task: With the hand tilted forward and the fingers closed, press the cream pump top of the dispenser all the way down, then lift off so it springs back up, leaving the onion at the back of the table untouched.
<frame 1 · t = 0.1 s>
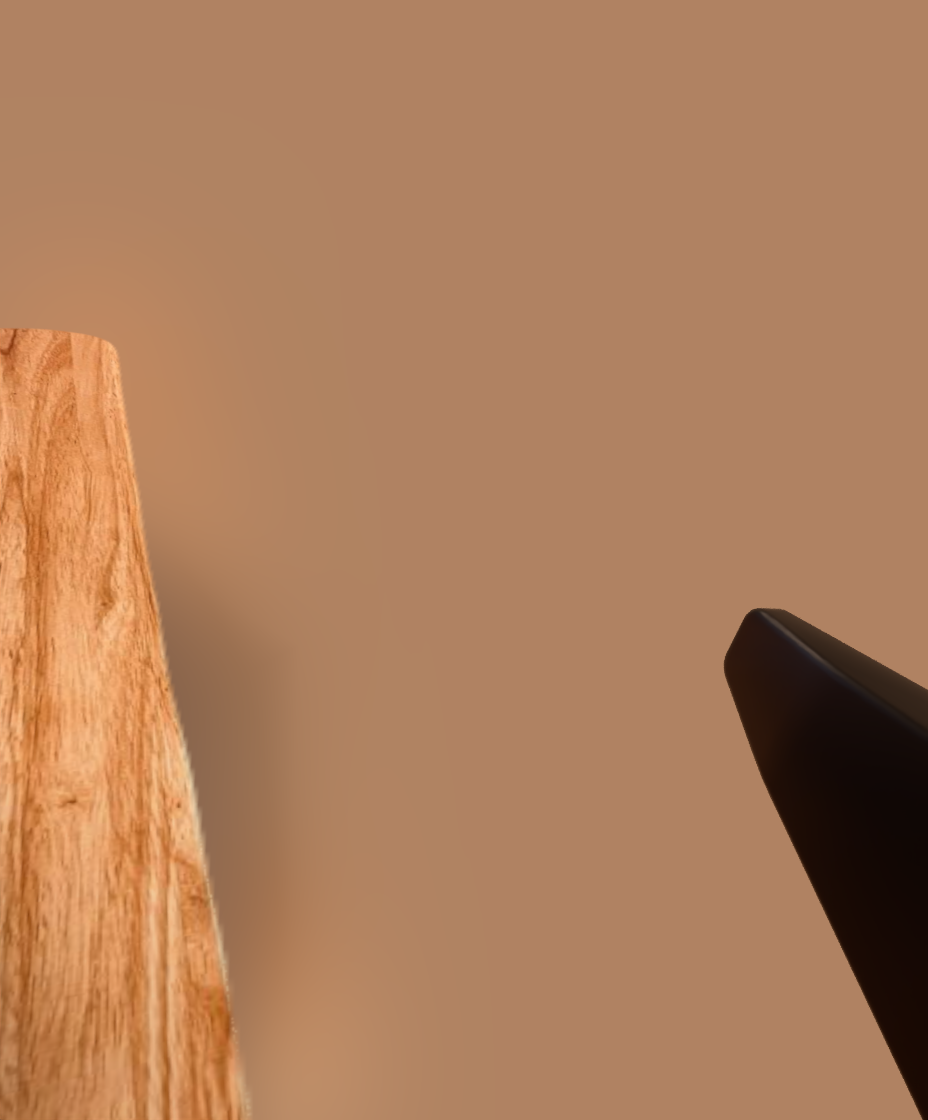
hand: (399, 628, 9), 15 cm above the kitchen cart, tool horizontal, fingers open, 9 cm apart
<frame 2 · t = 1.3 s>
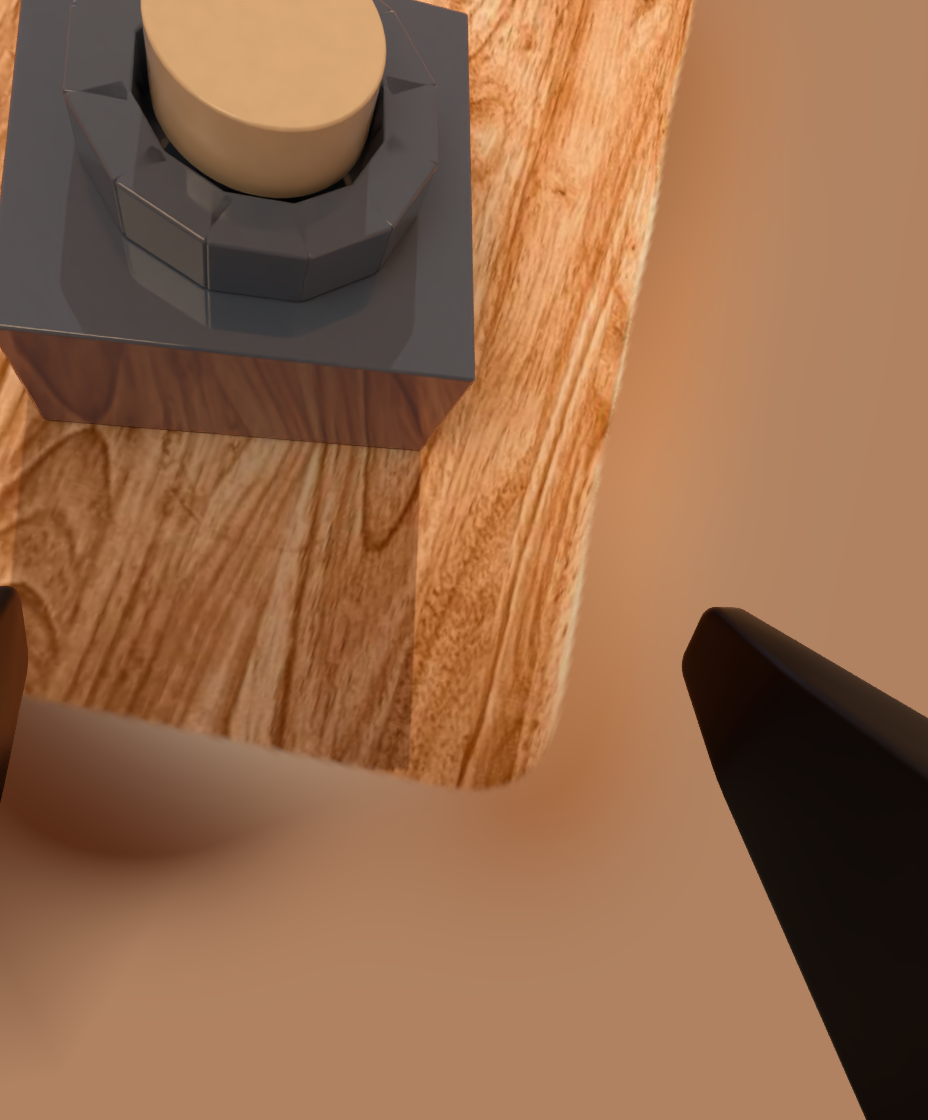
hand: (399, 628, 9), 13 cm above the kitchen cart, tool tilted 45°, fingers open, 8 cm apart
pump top: (266, 65, 15), point 8 cm above the kitchen cart, slide at 0.1 cm
dispenser: (251, 270, 22), on the kitchen cart
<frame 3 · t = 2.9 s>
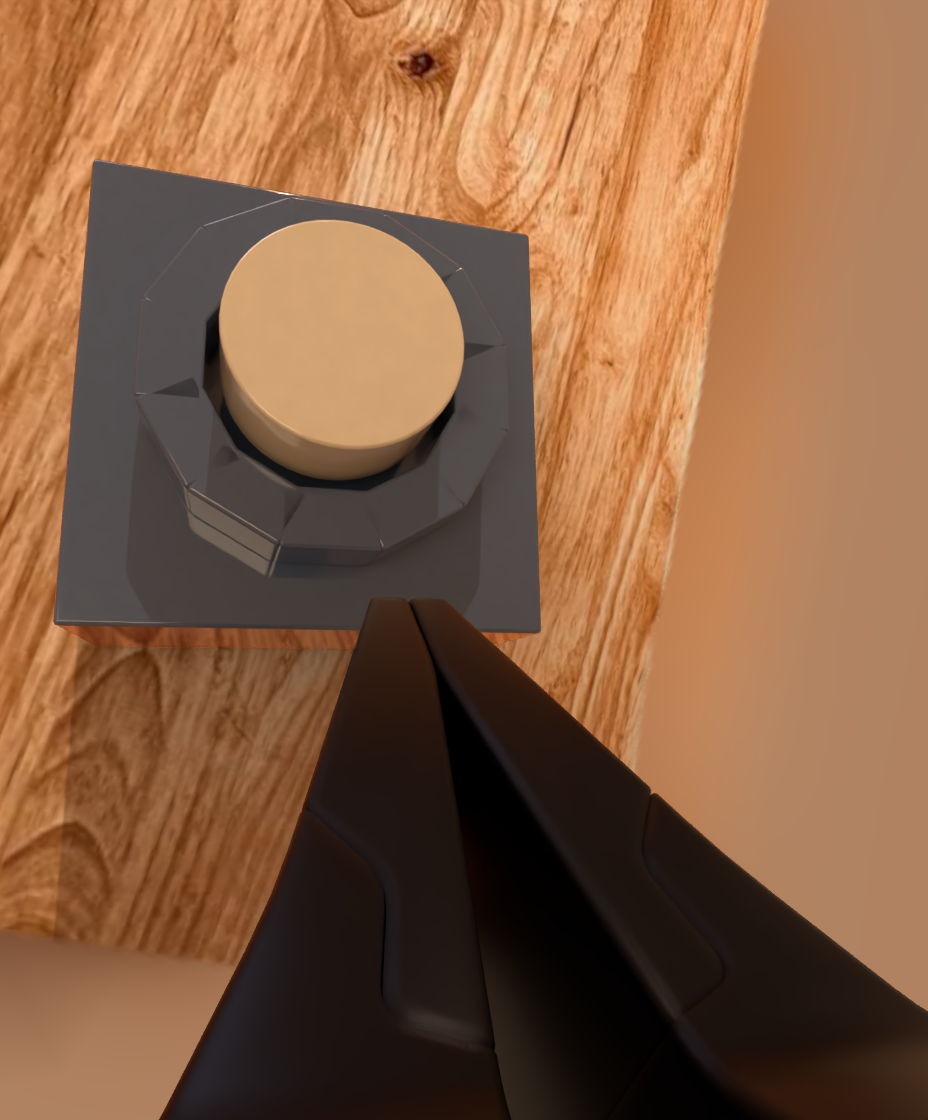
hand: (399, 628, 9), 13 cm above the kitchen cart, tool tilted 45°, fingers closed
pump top: (339, 355, 15), point 8 cm above the kitchen cart, slide at 0.1 cm
dispenser: (301, 470, 22), on the kitchen cart
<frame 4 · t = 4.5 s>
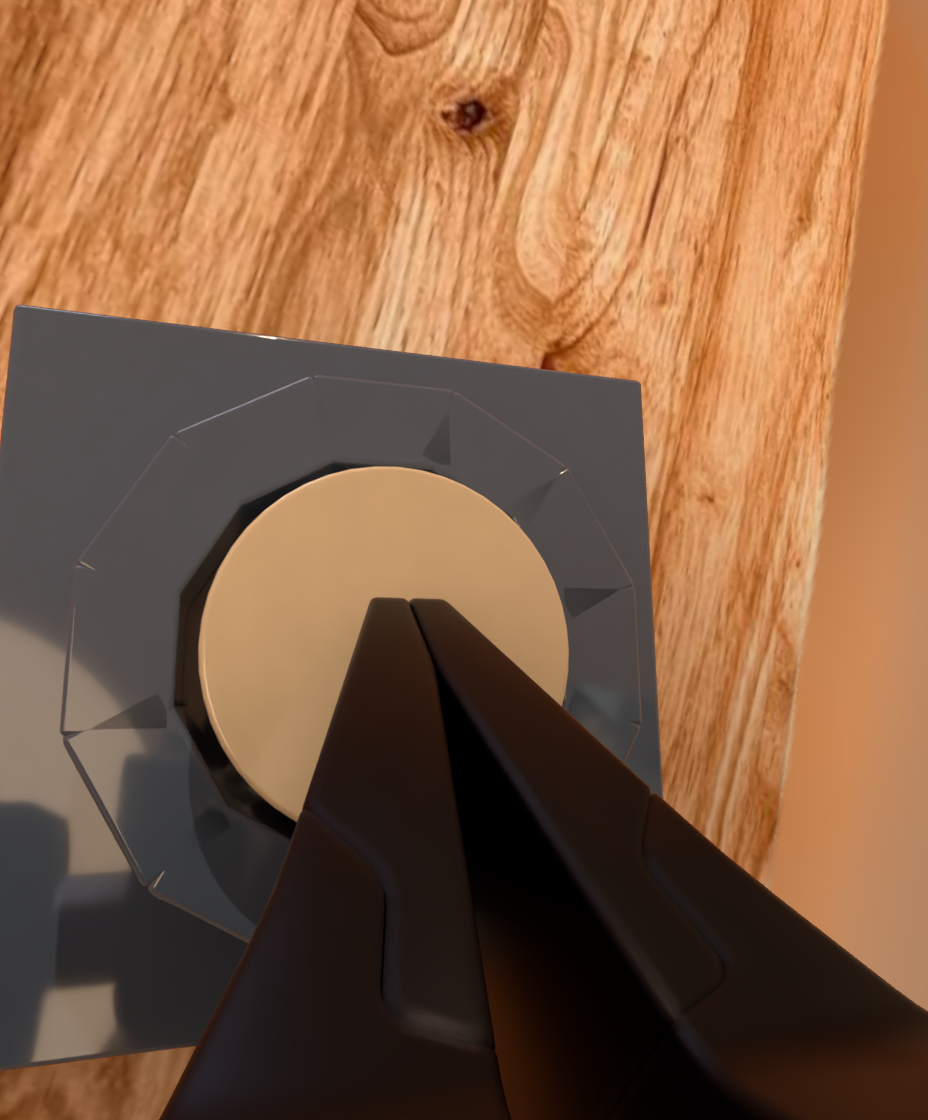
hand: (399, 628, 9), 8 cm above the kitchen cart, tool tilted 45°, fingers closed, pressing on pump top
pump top: (380, 652, 10), point 7 cm above the kitchen cart, slide at -0.7 cm, touching gripper
dispenser: (318, 673, 16), on the kitchen cart
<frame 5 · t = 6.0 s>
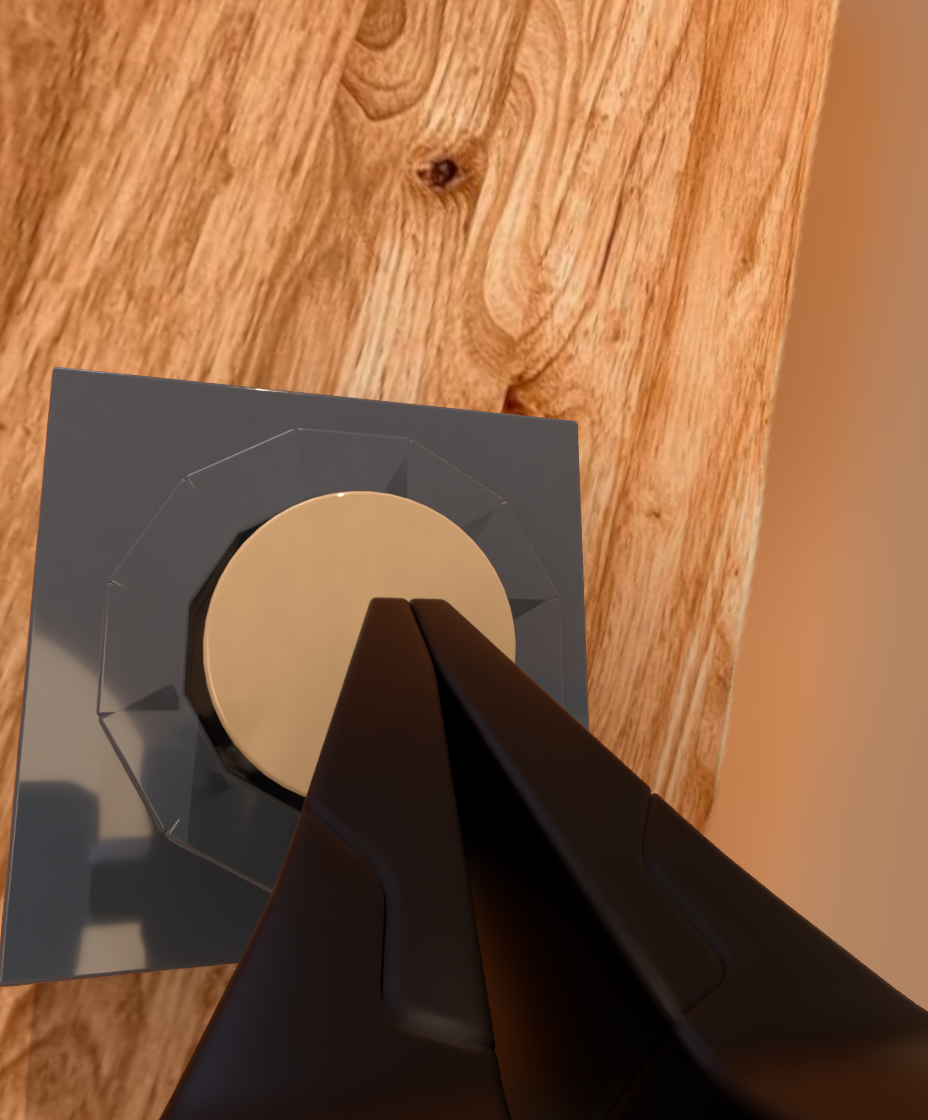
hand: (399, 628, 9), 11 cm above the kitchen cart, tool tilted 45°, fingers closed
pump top: (357, 647, 12), point 8 cm above the kitchen cart, slide at 0.1 cm
dispenser: (306, 669, 19), on the kitchen cart
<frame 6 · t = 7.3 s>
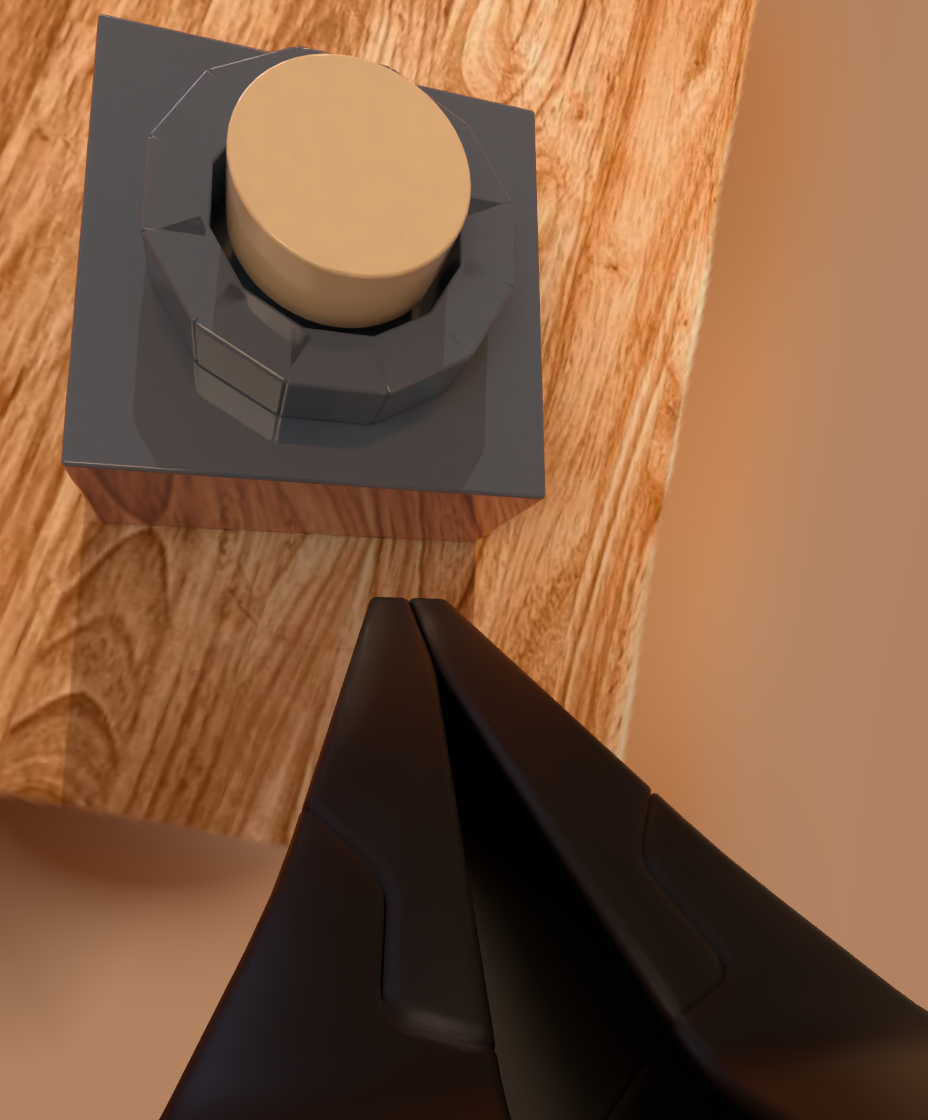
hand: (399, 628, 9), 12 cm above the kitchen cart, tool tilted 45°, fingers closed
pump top: (346, 197, 15), point 8 cm above the kitchen cart, slide at 0.1 cm
dispenser: (305, 360, 22), on the kitchen cart
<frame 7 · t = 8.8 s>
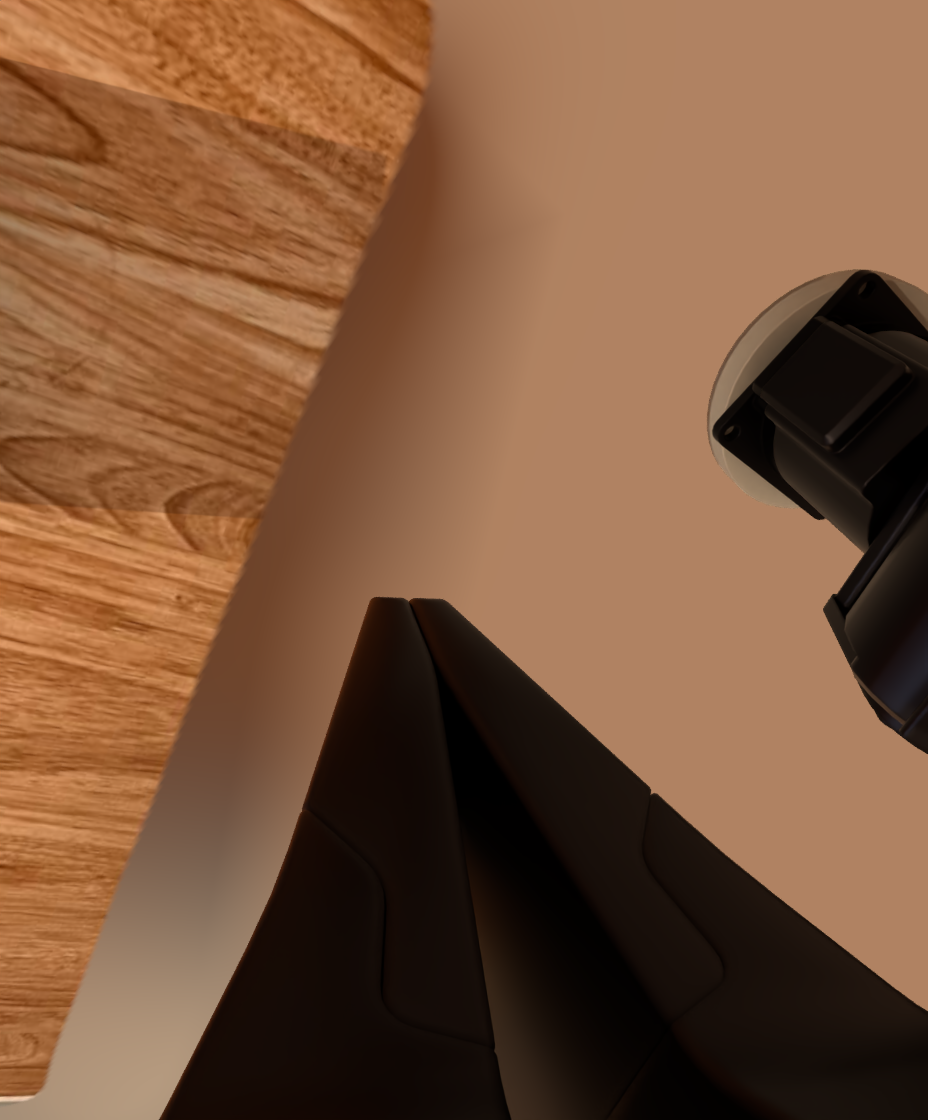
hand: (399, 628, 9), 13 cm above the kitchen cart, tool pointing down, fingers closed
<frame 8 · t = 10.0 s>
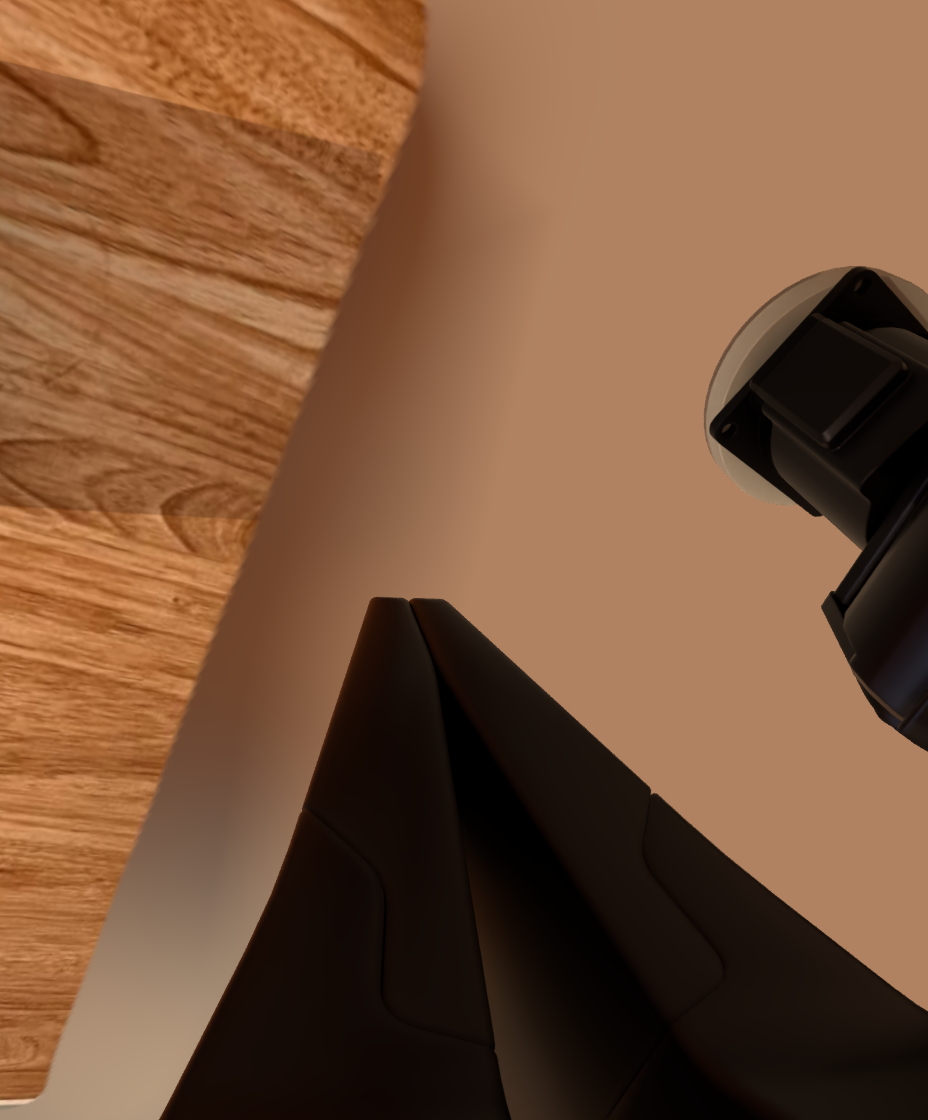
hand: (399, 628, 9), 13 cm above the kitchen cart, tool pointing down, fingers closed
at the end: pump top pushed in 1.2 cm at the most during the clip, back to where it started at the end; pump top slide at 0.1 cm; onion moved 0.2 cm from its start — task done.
